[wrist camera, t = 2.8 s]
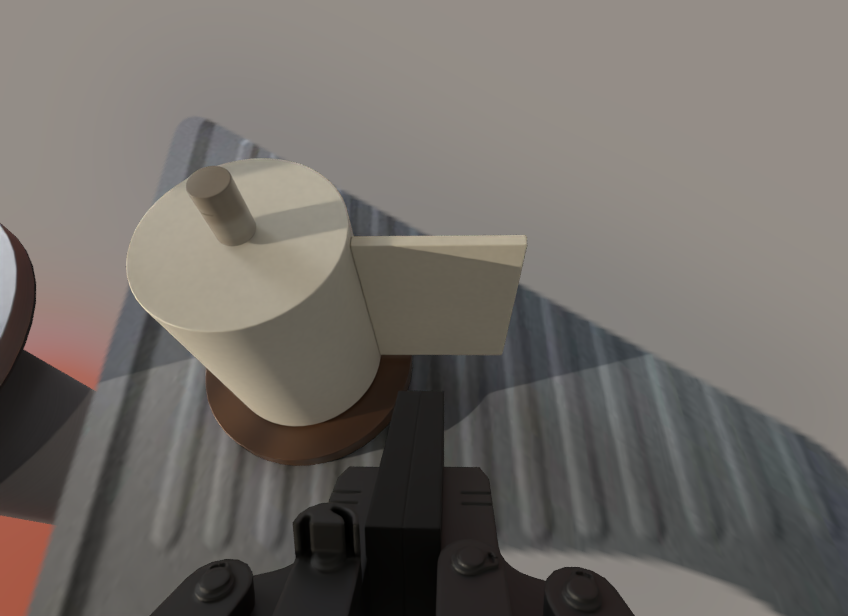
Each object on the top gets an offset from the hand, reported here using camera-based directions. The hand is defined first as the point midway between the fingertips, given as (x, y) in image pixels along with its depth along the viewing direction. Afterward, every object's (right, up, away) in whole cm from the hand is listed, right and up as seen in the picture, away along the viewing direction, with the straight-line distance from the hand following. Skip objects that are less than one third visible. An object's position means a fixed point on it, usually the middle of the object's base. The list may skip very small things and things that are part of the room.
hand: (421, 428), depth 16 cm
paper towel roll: (-4, 0, +16) cm, 16 cm away
